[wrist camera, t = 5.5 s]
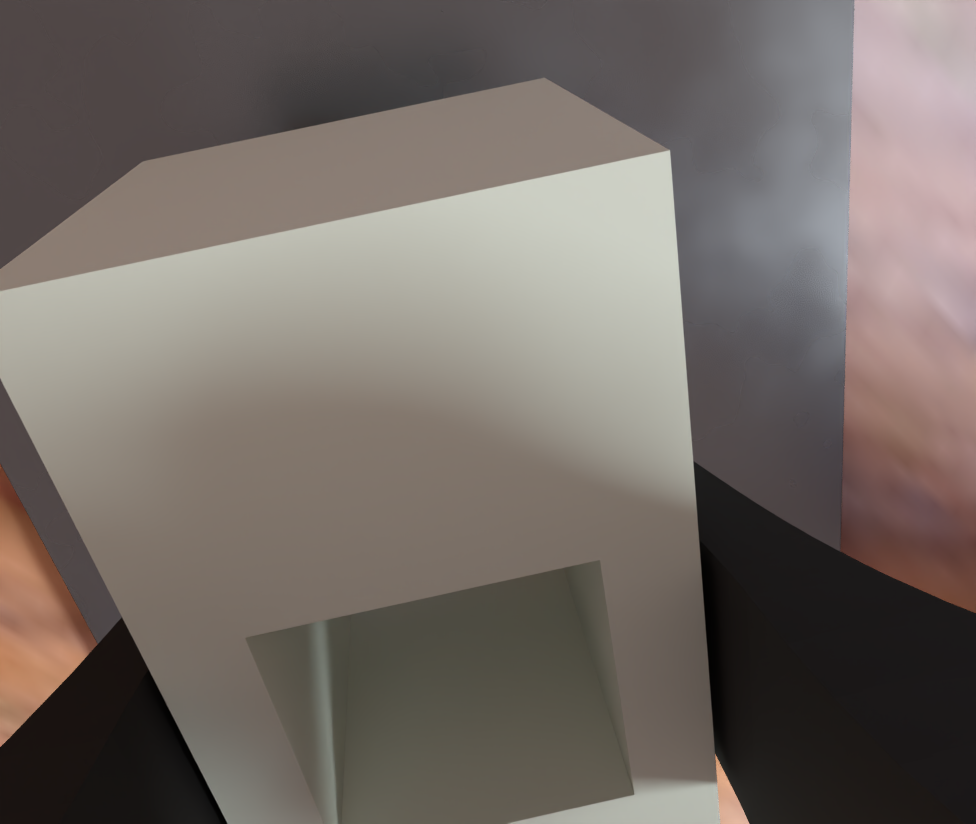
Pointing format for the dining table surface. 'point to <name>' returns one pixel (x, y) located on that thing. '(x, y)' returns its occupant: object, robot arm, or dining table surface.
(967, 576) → the dining table surface
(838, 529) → the stand
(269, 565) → the block with square hole
